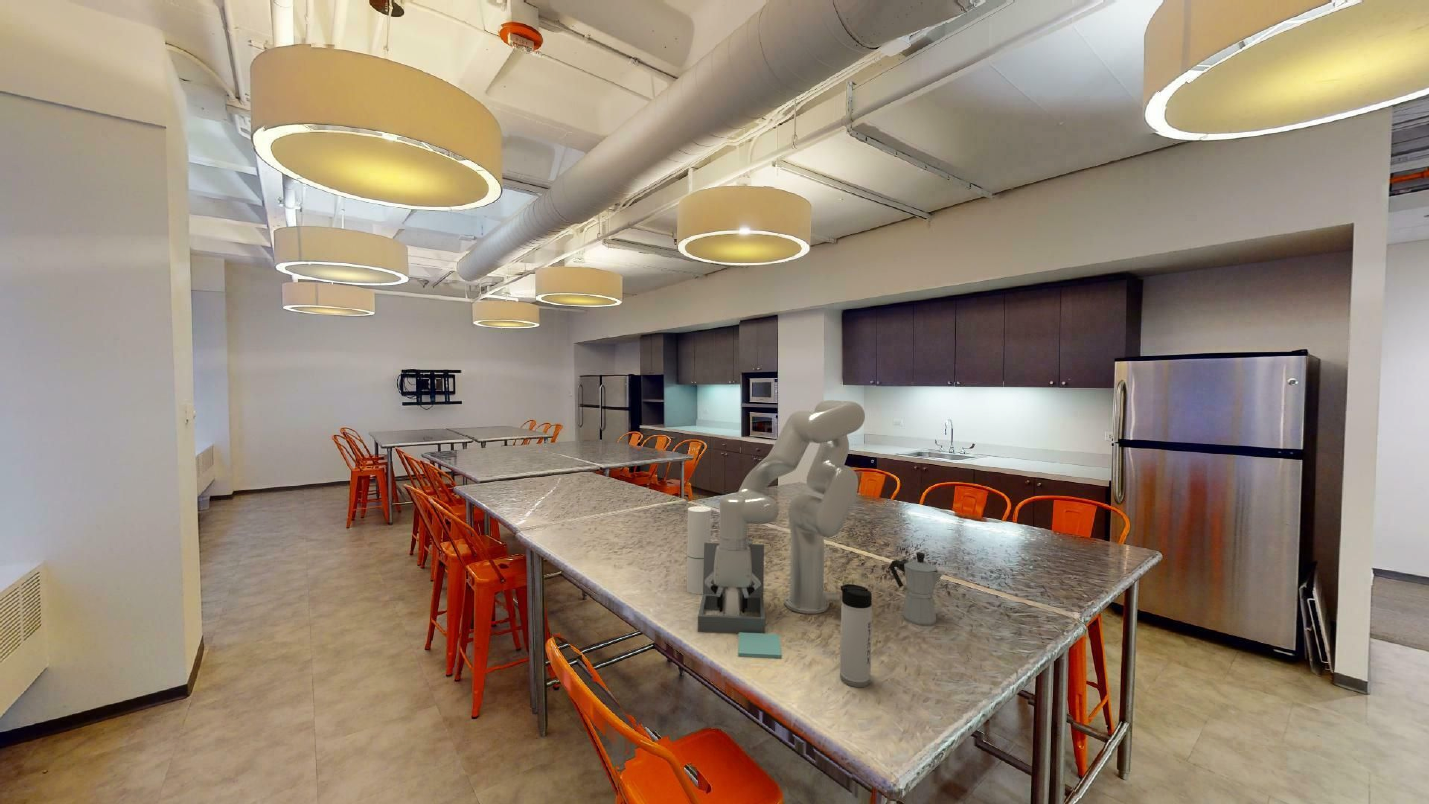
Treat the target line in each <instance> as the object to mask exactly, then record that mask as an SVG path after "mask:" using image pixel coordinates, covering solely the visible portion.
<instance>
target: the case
mask: <svg viewBox="0 0 1429 804" xmlns="http://www.w3.org/2000/svg"><path fill="white" fill-rule="evenodd" d="M724 598H725V595H723V606H724ZM740 601H741V612H742V596H740ZM706 611H719V607H717V596H716V595H714V594H702V597H701V601H700V604H699V610H698V616H697V632H698V633H699V632H700V633H717V634H738V635H739V632H742V633H763V634H766V614H765V611H766V610H765V600H764V595H763V596H749V597H748V601H747V609H745V612H747V613H748V612H750V613H759V616H745V615H744V616H743V615H742V616H723V614H721V615H718V614H706ZM722 611H723V608H722Z"/></svg>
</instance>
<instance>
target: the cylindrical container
mask: <svg viewBox="0 0 1429 804" xmlns="http://www.w3.org/2000/svg"><path fill="white" fill-rule="evenodd" d="M711 529H712V508H711V507H709V506H705V505H704V506H701V505H699V506H698V505H695V506H689V507H688V508H687V534H686V535H687V536H686V537H687V542H686V543H687V545H686V546H687V547H686V548H687V549H686V550H687V551H686V558H687V559H686V591H687V592H688V593H689V594H693V595H703V571H704V543H712V542H711V541H712V539H711V536H712V530H711Z"/></svg>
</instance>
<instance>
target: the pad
mask: <svg viewBox="0 0 1429 804" xmlns="http://www.w3.org/2000/svg"><path fill="white" fill-rule="evenodd" d="M781 646H782V645H781V639H780V634H779V633H765V634H763V633H742V632H739V634H738V648H737V649H738V651H737V652H738V653H737V657H742V658H743V657H744V658H760V659H761V658H763V659H780V660H781V659H782V658H783V654H782V648H781Z"/></svg>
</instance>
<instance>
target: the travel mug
mask: <svg viewBox="0 0 1429 804" xmlns="http://www.w3.org/2000/svg"><path fill="white" fill-rule="evenodd" d="M839 589H840V591H841V593H842V594H841V607H840V608H841V615H840V616H841V617H840V621H841V622H840V654H839V655H840V658H839V659H840V663H839V665H840V666H839V678H840V680H841V681H842V682H843V683H844V684H846V685H848V686H850V687H854V688H863V687H867V686H868V685H870V684H871V672H872V671H871V665H872V662H871V661H872V660H871V659H872V627H873V626H872V625H873V624H872V623H873V620H872V619H873V618H872V617H873V604H872V603H873V602H872V601H873V598H872V597H873V595H872V592H871V591H870V590H869V589H868V588H866V587H864V586H861V585H858V584H852V583H851V584H850V583H845V584H843V585H840V588H839Z"/></svg>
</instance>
